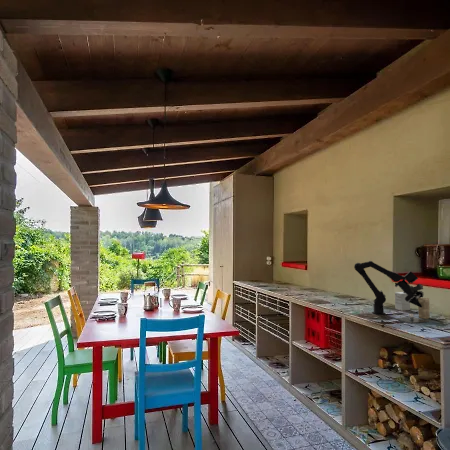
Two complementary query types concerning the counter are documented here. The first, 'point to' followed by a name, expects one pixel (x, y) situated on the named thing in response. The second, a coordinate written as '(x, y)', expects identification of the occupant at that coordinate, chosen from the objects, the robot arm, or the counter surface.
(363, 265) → the robot arm
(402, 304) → the supplement box
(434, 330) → the counter surface
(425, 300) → the birch post
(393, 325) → the counter surface
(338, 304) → the counter surface
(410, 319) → the post plate
